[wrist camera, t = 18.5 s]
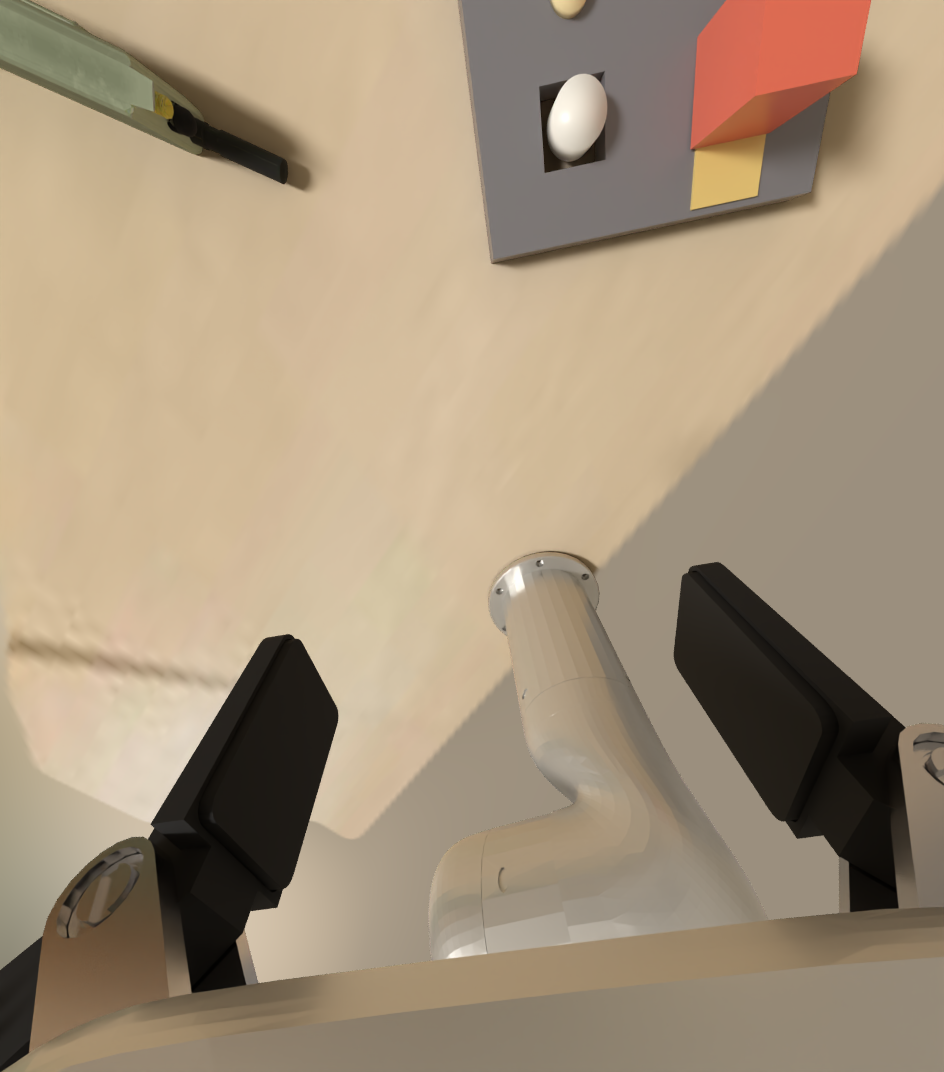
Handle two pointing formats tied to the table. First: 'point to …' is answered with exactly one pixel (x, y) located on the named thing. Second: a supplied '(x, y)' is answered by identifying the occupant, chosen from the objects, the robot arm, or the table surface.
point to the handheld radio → (114, 84)
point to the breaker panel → (611, 124)
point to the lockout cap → (771, 63)
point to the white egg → (576, 117)
